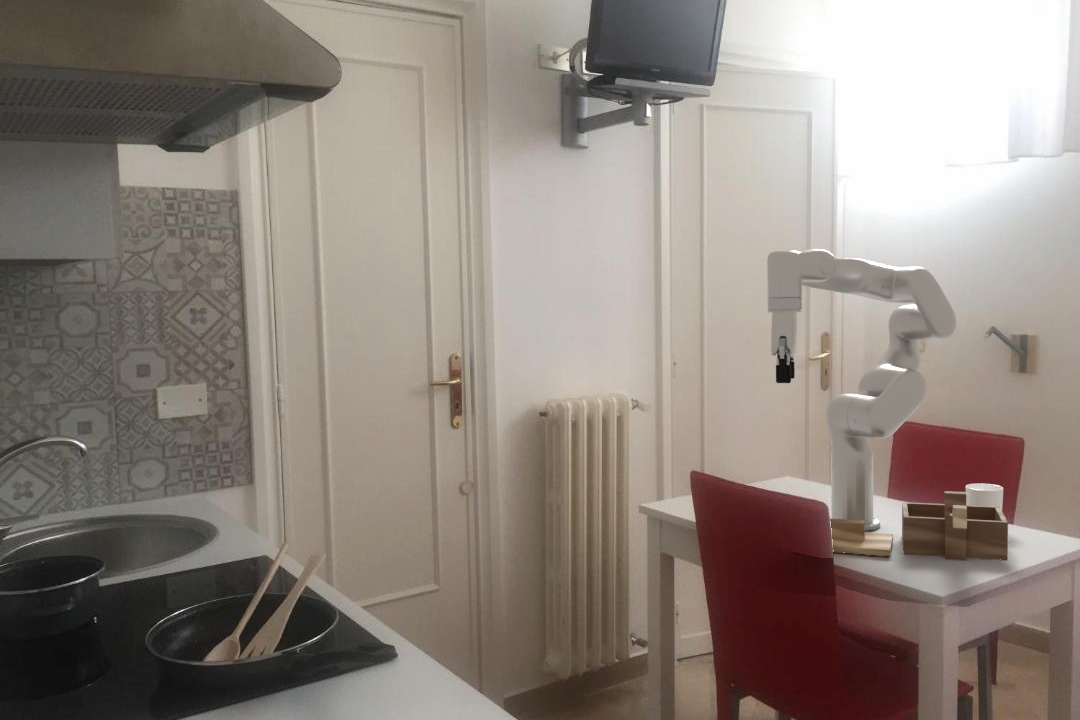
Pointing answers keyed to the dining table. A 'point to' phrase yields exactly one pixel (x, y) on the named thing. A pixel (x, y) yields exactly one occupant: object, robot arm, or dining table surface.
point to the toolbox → (954, 530)
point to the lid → (859, 538)
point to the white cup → (984, 495)
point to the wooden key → (959, 516)
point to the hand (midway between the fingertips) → (785, 380)
